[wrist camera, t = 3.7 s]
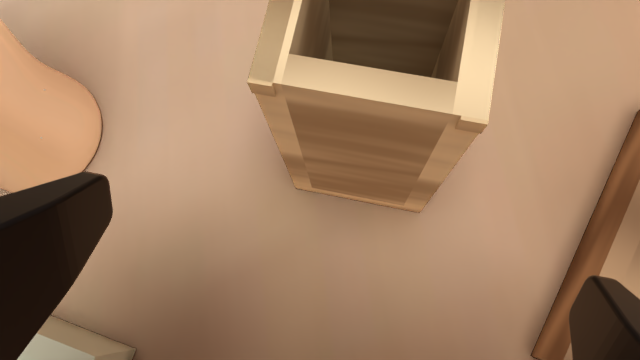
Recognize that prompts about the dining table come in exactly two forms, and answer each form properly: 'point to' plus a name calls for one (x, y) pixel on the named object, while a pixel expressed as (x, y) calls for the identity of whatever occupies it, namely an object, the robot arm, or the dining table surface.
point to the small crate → (376, 92)
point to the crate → (601, 247)
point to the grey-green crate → (73, 344)
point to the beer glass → (41, 120)
